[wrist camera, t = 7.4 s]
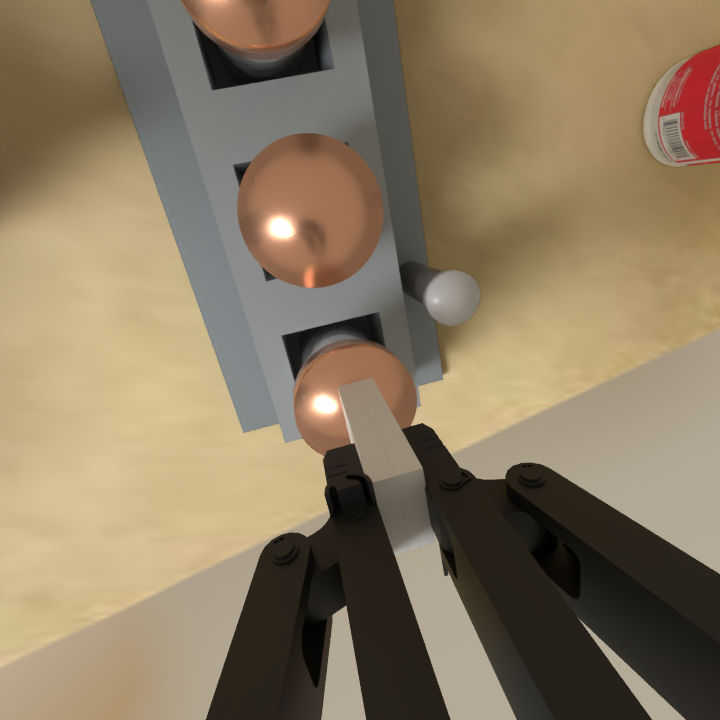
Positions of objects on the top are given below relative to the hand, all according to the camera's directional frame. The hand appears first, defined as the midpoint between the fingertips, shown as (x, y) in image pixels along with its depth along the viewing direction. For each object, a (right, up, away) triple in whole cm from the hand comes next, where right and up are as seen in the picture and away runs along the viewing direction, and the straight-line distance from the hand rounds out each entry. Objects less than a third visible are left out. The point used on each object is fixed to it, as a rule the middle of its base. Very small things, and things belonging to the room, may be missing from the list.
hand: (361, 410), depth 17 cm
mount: (-3, +11, +6) cm, 13 cm away
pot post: (+3, +7, +8) cm, 11 cm away
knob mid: (-3, +10, +6) cm, 12 cm away
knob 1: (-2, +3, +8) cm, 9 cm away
